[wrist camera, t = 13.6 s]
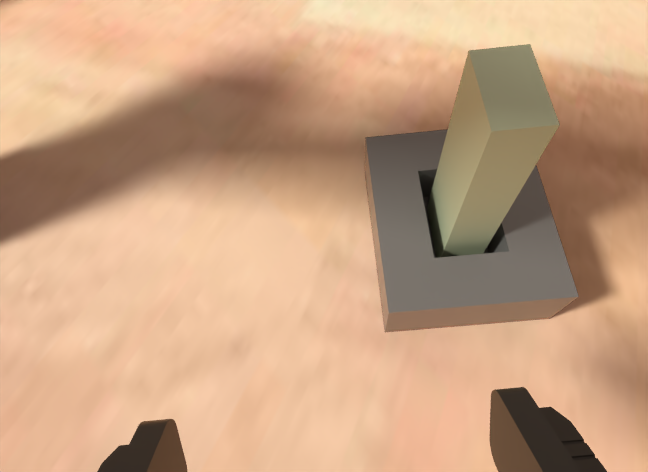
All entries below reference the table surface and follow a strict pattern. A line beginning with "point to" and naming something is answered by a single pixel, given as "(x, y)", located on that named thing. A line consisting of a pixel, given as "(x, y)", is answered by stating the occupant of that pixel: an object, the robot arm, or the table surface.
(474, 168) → the peg
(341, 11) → the table surface
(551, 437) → the robot arm
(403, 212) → the gray block with hole
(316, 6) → the table surface
